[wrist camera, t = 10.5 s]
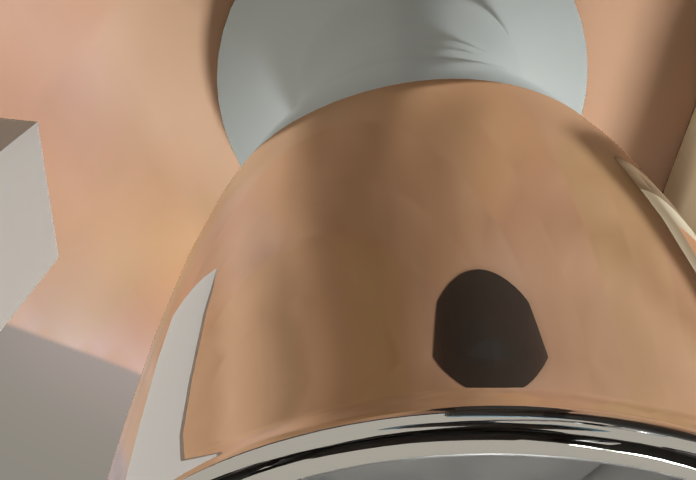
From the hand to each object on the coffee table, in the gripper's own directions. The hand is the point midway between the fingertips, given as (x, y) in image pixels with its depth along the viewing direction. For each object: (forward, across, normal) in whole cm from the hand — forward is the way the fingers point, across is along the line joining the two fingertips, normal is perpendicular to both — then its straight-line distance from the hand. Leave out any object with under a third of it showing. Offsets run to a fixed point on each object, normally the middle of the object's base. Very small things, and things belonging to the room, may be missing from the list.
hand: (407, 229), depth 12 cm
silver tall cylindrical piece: (+7, 0, 0) cm, 7 cm away
